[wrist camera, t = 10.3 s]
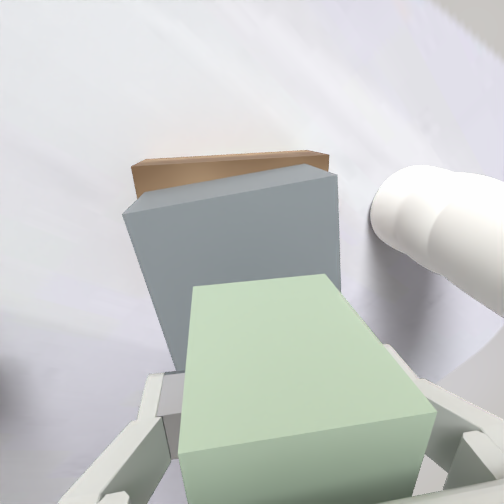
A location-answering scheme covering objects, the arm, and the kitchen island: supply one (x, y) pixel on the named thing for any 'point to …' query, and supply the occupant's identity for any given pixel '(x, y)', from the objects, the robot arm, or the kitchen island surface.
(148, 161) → the walnut base block
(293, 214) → the slate gray middle block
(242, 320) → the sage green block
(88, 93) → the kitchen island surface
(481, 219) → the water bottle
